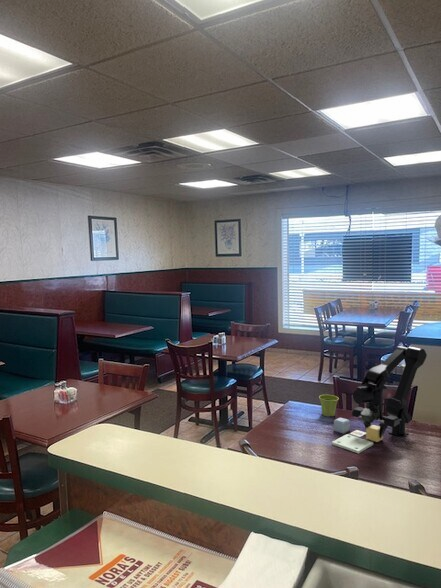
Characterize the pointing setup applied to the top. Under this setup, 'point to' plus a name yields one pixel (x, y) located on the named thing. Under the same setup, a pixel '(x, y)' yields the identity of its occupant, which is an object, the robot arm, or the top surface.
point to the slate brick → (341, 425)
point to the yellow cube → (373, 433)
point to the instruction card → (358, 433)
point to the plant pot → (328, 404)
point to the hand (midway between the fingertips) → (374, 436)
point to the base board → (352, 443)
